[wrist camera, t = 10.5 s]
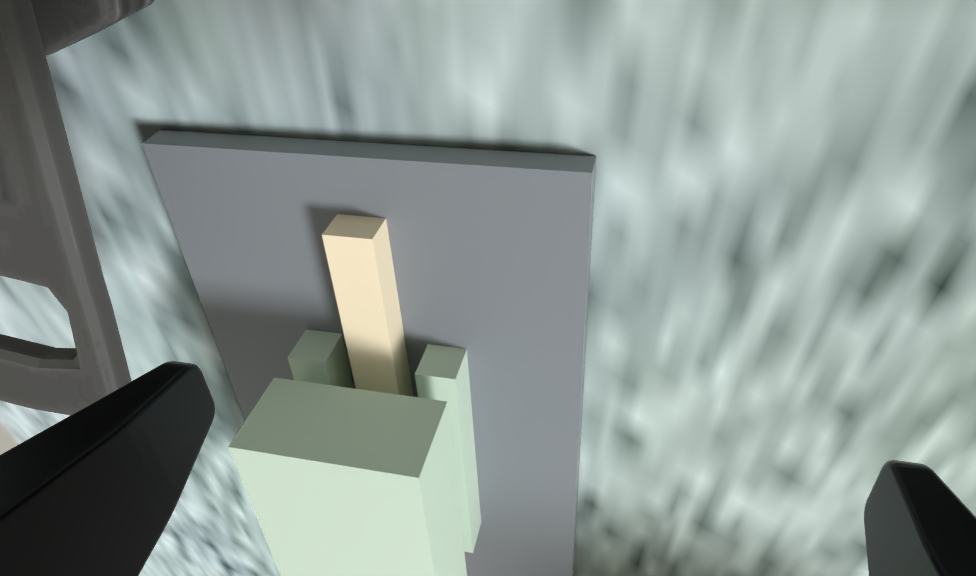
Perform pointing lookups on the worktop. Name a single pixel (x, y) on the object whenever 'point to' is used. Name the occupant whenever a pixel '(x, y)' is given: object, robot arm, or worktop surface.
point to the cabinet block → (363, 467)
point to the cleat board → (407, 293)
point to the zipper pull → (51, 211)
